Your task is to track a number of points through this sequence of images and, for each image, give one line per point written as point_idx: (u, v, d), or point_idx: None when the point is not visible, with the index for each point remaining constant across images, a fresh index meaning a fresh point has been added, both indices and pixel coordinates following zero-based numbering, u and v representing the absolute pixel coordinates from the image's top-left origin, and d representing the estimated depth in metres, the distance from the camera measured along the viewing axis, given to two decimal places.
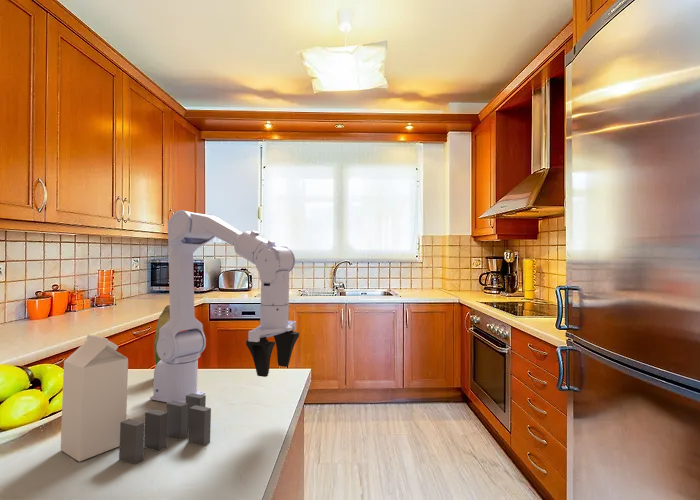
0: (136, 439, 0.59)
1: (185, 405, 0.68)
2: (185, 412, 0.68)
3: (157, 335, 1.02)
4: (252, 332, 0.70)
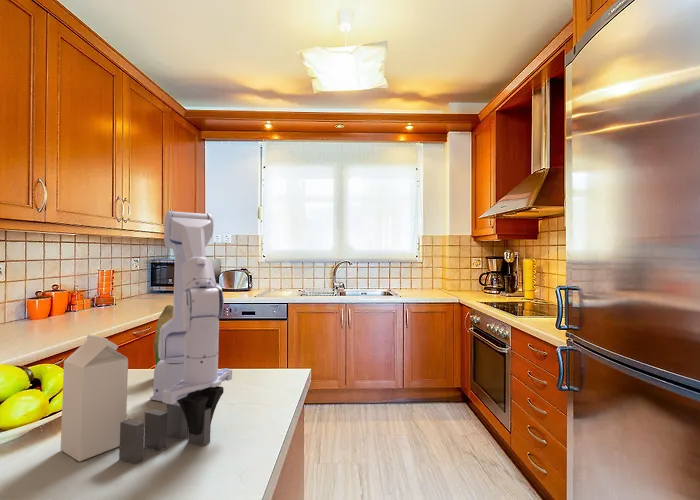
0: (136, 439, 0.59)
1: None
2: None
3: (157, 335, 1.02)
4: (167, 392, 0.60)
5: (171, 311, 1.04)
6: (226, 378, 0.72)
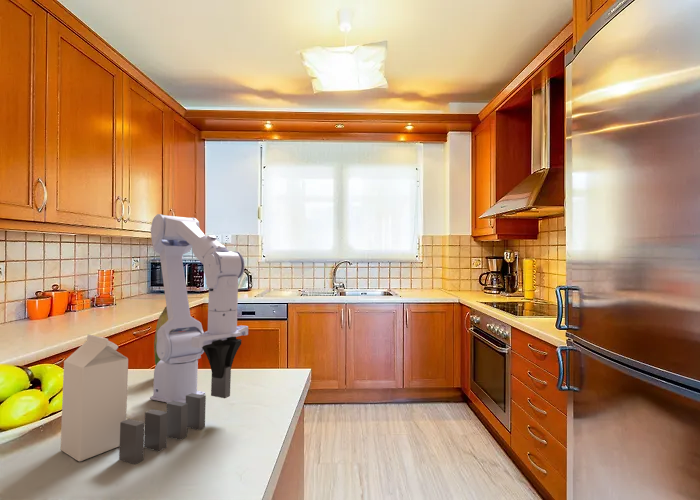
0: (136, 439, 0.59)
1: (185, 405, 0.68)
2: (185, 412, 0.68)
3: None
4: (195, 338, 0.70)
5: None
6: (243, 333, 0.82)
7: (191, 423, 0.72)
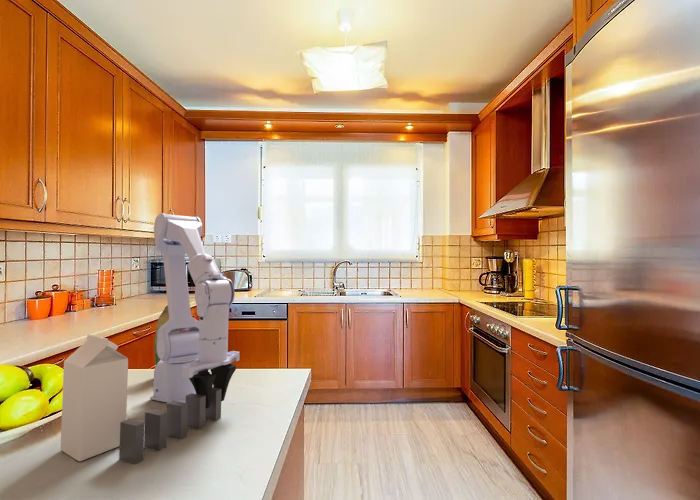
0: (136, 439, 0.59)
1: (185, 405, 0.68)
2: (185, 412, 0.68)
3: None
4: (185, 368, 0.71)
5: None
6: (234, 359, 0.83)
7: (191, 423, 0.72)
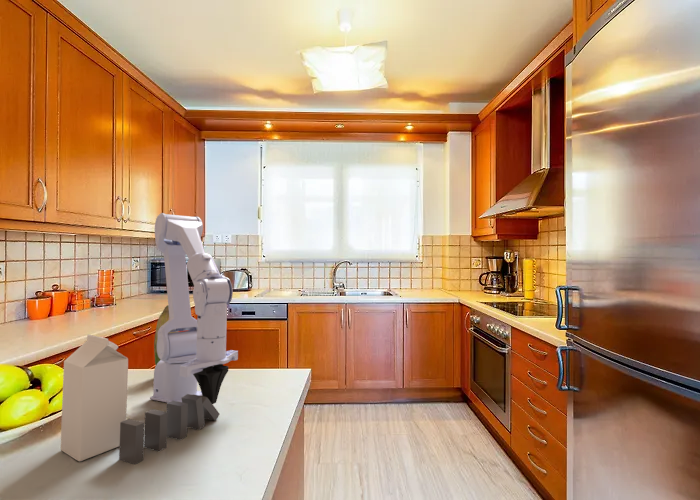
0: (136, 439, 0.59)
1: (185, 405, 0.68)
2: (185, 412, 0.68)
3: (157, 335, 1.02)
4: (183, 367, 0.70)
5: None
6: (233, 358, 0.82)
7: (190, 423, 0.72)
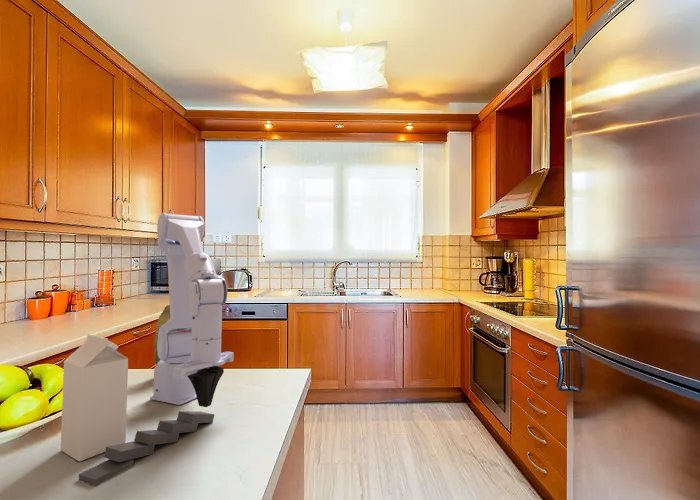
0: None
1: (152, 438, 0.62)
2: (158, 437, 0.63)
3: (157, 335, 1.02)
4: (176, 369, 0.69)
5: None
6: (228, 360, 0.81)
7: None
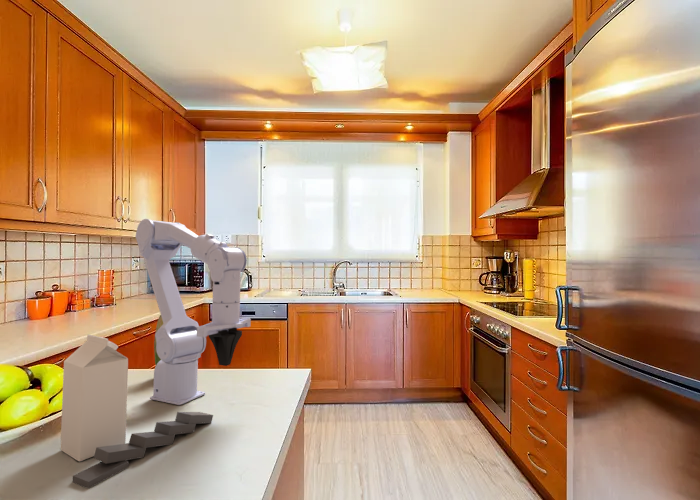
0: None
1: (146, 441, 0.61)
2: (152, 440, 0.62)
3: None
4: (200, 328, 0.75)
5: None
6: (246, 325, 0.87)
7: None
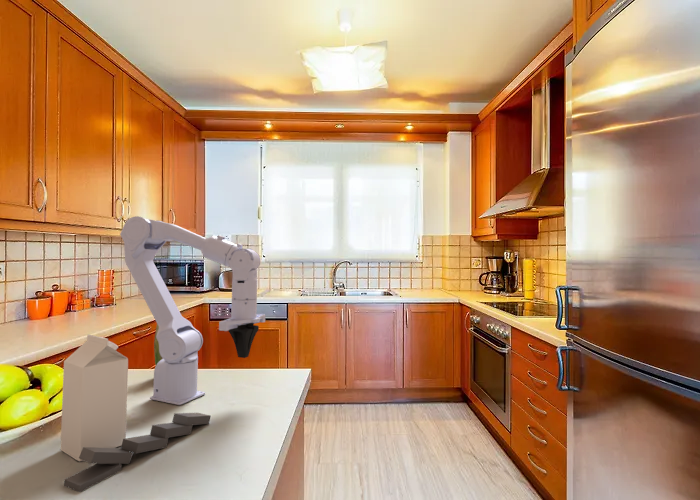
0: None
1: (138, 446, 0.60)
2: (145, 445, 0.61)
3: None
4: (222, 322, 0.82)
5: None
6: (261, 320, 0.94)
7: None
